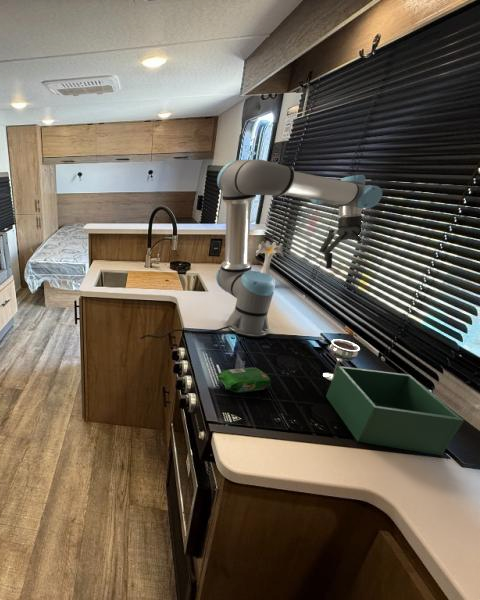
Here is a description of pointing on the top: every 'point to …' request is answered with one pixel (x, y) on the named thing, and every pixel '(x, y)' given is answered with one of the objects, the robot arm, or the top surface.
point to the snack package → (244, 380)
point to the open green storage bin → (392, 410)
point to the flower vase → (268, 253)
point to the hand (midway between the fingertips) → (347, 268)
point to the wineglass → (341, 353)
